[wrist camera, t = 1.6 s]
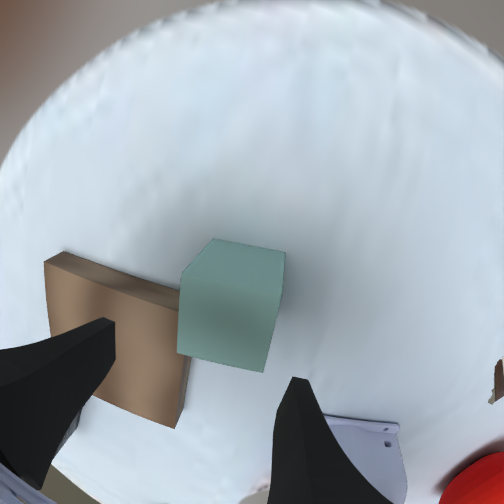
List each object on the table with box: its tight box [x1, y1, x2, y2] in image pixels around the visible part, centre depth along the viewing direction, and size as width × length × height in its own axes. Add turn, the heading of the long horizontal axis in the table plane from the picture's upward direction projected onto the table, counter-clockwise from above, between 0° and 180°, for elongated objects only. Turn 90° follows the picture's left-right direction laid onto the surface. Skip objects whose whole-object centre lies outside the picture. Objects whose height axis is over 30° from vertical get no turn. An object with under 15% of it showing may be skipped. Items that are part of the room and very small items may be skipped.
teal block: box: [177, 239, 285, 373], centre depth 17 cm, size 4×4×6 cm
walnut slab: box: [44, 251, 191, 429], centre depth 21 cm, size 12×12×2 cm
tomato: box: [439, 452, 504, 504], centre depth 20 cm, size 14×13×10 cm
